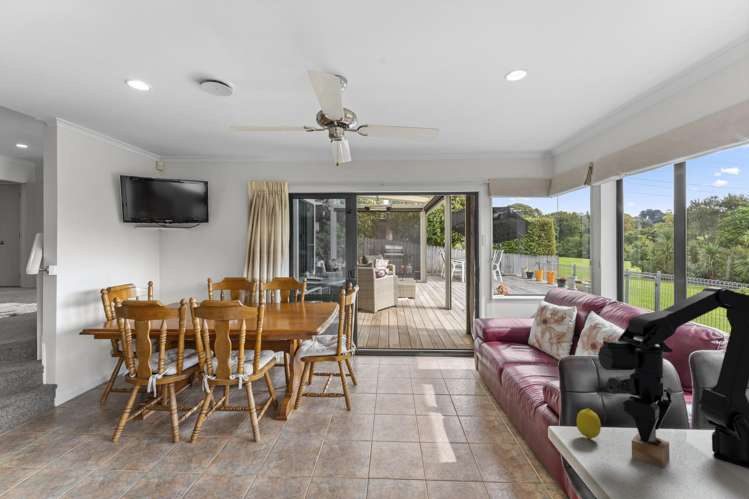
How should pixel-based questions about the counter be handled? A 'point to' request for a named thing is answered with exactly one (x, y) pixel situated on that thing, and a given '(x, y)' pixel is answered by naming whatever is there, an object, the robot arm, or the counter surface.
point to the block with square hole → (651, 451)
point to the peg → (652, 437)
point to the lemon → (588, 423)
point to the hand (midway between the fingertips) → (649, 435)
